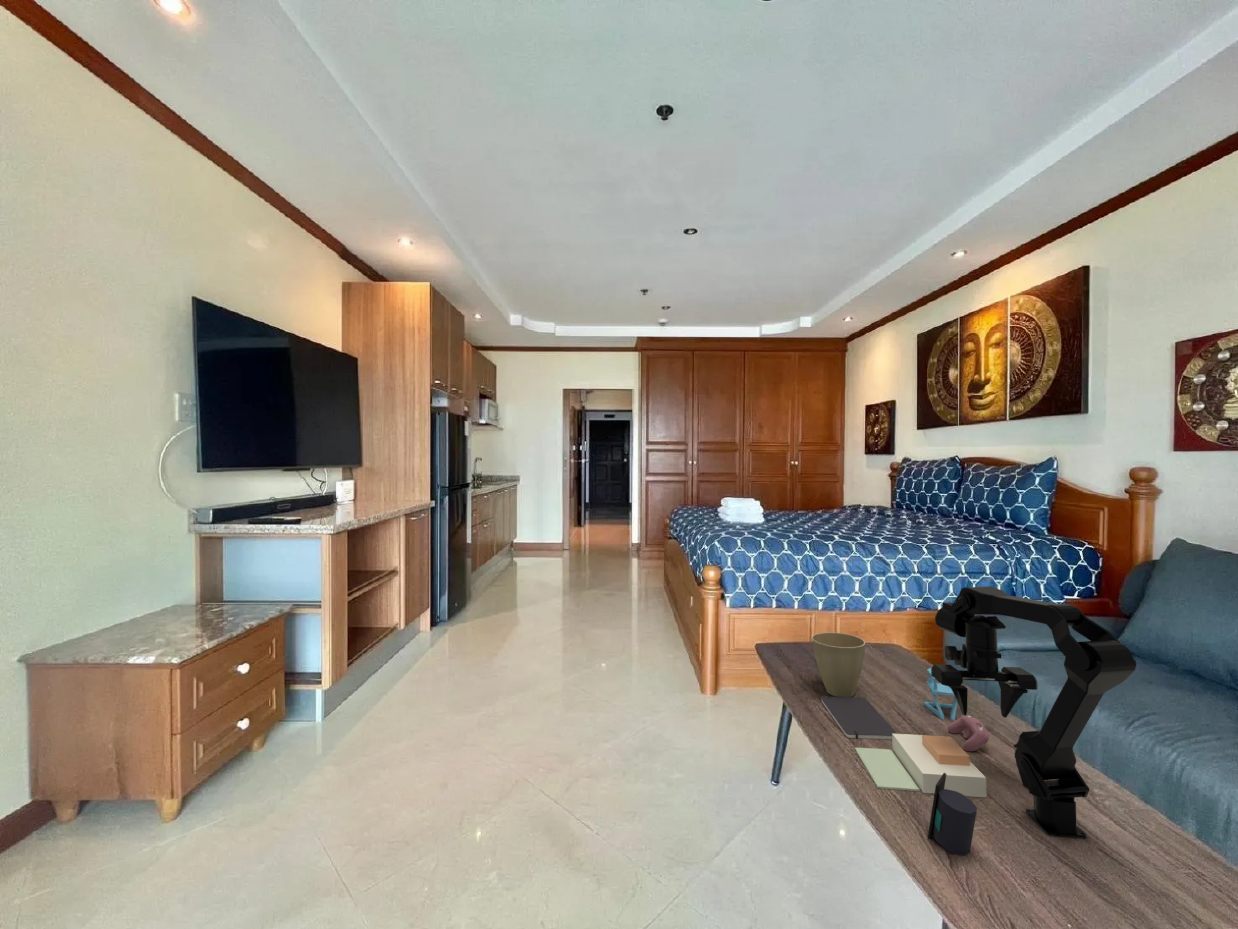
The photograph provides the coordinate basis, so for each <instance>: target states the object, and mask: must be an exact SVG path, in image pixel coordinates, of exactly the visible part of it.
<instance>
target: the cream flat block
mask: <svg viewBox="0 0 1238 929" xmlns="http://www.w3.org/2000/svg"><path fill="white" fill-rule="evenodd" d="M922 735H923V734H910V733H909V734H905V733H898V734H892V739H891V741H892V742H891V743H892V752H893V753H894V754H895V756H896V757H897V759H898V760H899V761H900V763H901V764H902V766H903V767H904V768H905V770H906V771H907V772H908V774H909V775H910V777H911V778H912V779H913V781H914V782H915V784H916V785H917V786H918V788H919V789H920V791H921V792H922V793H923V794H932V793H933V794H935V787H936V784H937V782H938V781H939V779H940V778H941V776H942V775H943V773H946V780H945V786H944V789H948V790H952V791H956V792H959V793H961V794H963V795H964V796H965V797H975V798H987V796H988V795H987V777H986V776H985V775H984V774H983V773H982V772H981V771H980V770H979V769H978V768H977V767H976V766H975V765H974V763H972V761H970V766H962V765H947V764H939V763H938V762H937V761H936V759H935V758H934V757H933V756H932V755H931V754H930V752H929V751H928V750H927V749H926V748H925V746H924V745H923V744H922ZM933 794H932V795H933Z"/></svg>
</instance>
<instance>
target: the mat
mask: <svg viewBox="0 0 1238 929" xmlns="http://www.w3.org/2000/svg"><path fill="white" fill-rule="evenodd" d="M854 751H856V754H857V756H858V757H859V758H860V761H861V762H862V763H863V765H864V767H865V769H866V771H867V773H868V774H869V775H870V777H871V779H872V782H873V783H874V784H875V786H876V787H877V789H884V790H897V791H912V792H921V789H920V788H919V786H918V785H917V784H916V782H915V781H914V779H913V778H912V777H911V775H910V774H909V772H908V771H907V770H906V768H905V767H904V765H903V764H902V763H901V761H900V760H899V759H898V757H897V756H896V754H895V753H894V752H893V749H886V748H870V747H854Z"/></svg>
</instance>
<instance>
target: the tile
mask: <svg viewBox="0 0 1238 929" xmlns="http://www.w3.org/2000/svg"><path fill="white" fill-rule="evenodd" d="M921 735H922V744H923V745H924V746H925V748H926V749H927V750H928V751H929V752H930V754H931V755H932V756H933V757H934V758H935V759H936V761H937V762H938V763H939V764H947V765H962V766H970V762H971V760H970V759H971V758H970V755H969V754H968V753H967V751H966V750H965V749H964V748H962V747H961V746H960V745H959V744H958V743H957V742H956V741H955V740H954V739H953V737H951V736H944V735H925V734H921Z"/></svg>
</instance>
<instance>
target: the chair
mask: <svg viewBox="0 0 1238 929" xmlns="http://www.w3.org/2000/svg"><path fill="white" fill-rule="evenodd" d="M931 668H932V667H930V668H927V669H926V671H927V674H928V677H929V680H926V685H927V687H928V688H929V691H930V692H931V696H932V698H933V701H934V702H931V701H924V702H923V706H925V707H926V708H927V709H928V710H930V712H931V713H933V714H935V715H936V716H937V717H938V718H939V719H941V720H945V714H944V712H943V709H942V708H944V709H945V708H946V709H951V710H950V720H951V721H952V722H954V721H956V713H957V707H958V702H957V700H956V697H955V695H954V693H953V691H952V689H951V688H950V687H949V686H945V685H942V684H941V683H940V682H938V681H937V680H936V679H935V678H934V677H932V676H931ZM937 695H938V696H939V695H942V696H943V695H945V696H952V697H953V701H952V702H953V703H952V704H949V703H940V702H939V700H938V698H937ZM935 707H936V708H935Z"/></svg>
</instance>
